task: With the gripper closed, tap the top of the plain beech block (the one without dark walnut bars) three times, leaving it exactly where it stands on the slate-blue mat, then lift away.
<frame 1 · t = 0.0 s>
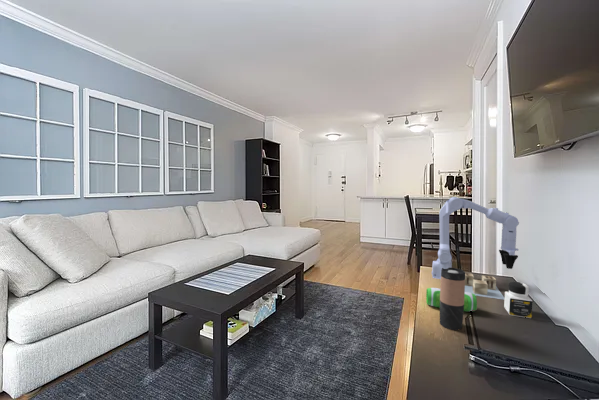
hand: (507, 266, 140), 10 cm above the table, tool pointing down, fingers open, 7 cm apart
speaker: (449, 308, 116), on the table
two bar block: (488, 287, 137), point 1 cm above the table, touching mat
medicine bottle: (517, 313, 112), on the table
travel mug: (450, 325, 101), on the table
one bar block: (466, 284, 142), point 1 cm above the table, touching mat
mat: (480, 290, 135), on the table
plain block: (479, 292, 131), point 1 cm above the table, touching mat
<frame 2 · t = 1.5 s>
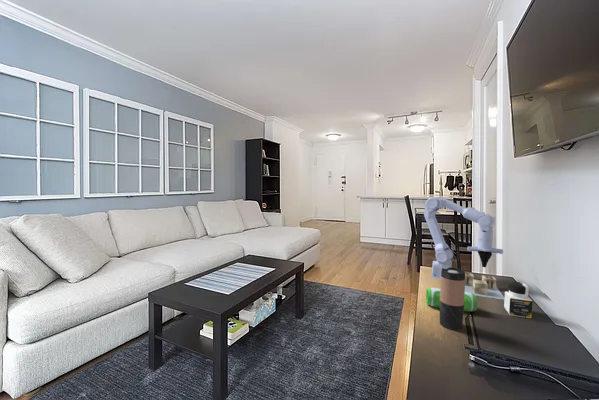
hand: (483, 266, 139), 10 cm above the table, tool pointing down, fingers closed
nothing on the table moved.
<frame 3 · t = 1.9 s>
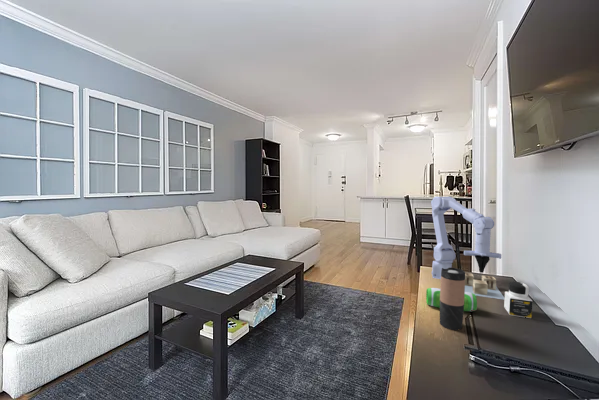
hand: (481, 271, 131), 10 cm above the table, tool pointing down, fingers closed
nothing on the table moved.
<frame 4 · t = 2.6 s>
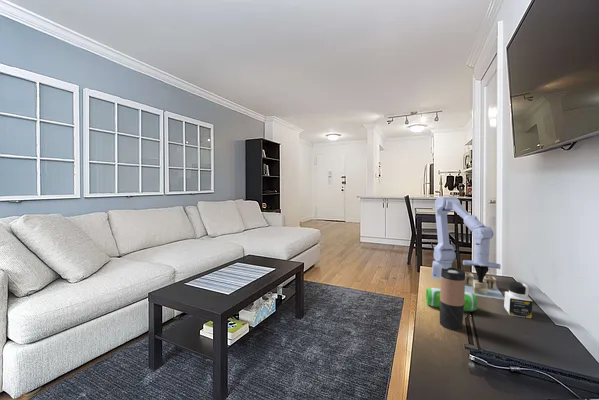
hand: (480, 281, 131), 6 cm above the table, tool pointing down, fingers closed, pressing on plain block
plain block: (479, 292, 131), point 1 cm above the table, touching gripper, mat
everything else where it was.
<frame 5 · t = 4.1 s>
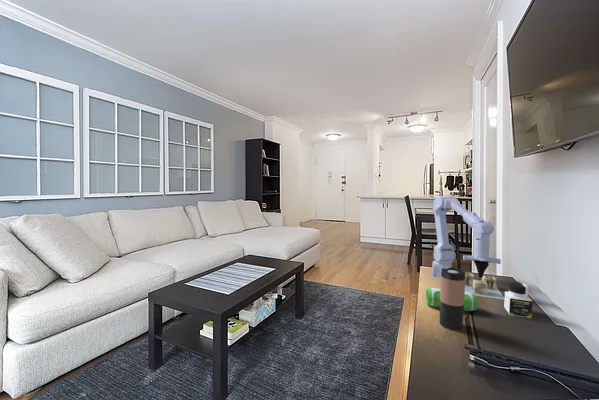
hand: (480, 277, 131), 8 cm above the table, tool pointing down, fingers closed
plain block: (479, 292, 131), point 1 cm above the table, touching mat
everything else where it was.
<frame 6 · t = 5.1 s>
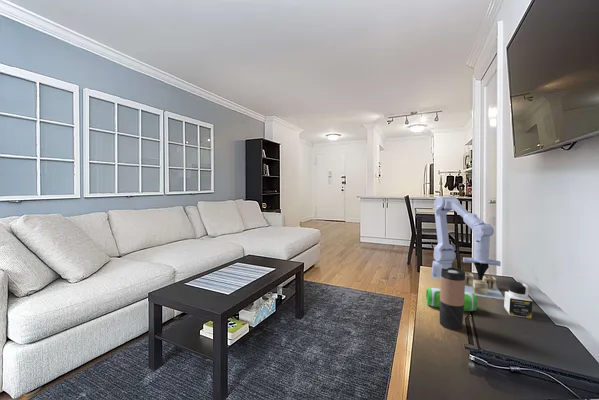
hand: (480, 279, 131), 7 cm above the table, tool pointing down, fingers closed
nothing on the table moved.
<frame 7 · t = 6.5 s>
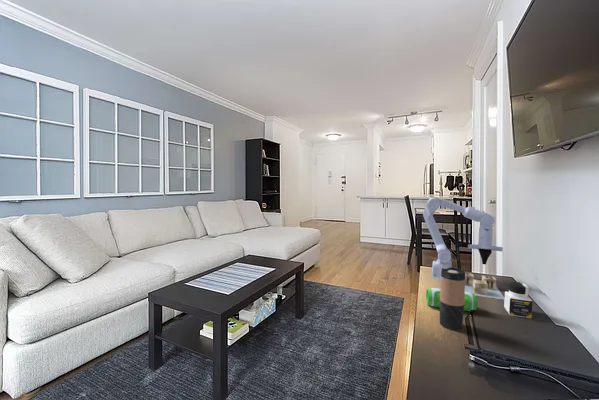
hand: (484, 263, 144), 10 cm above the table, tool pointing down, fingers closed
nothing on the table moved.
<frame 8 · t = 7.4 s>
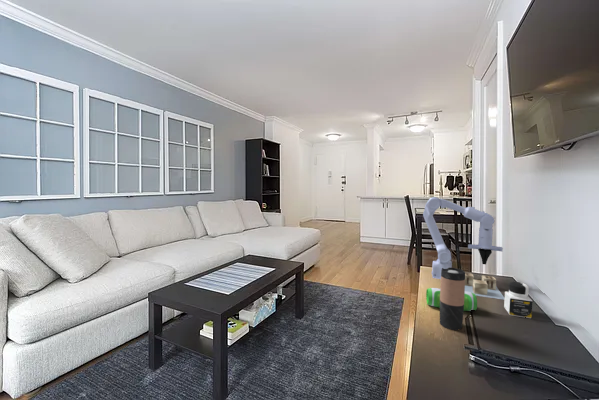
hand: (484, 263, 144), 10 cm above the table, tool pointing down, fingers closed
nothing on the table moved.
at the end: plain block moved 0.0 cm from its start; plain block tilted 0°; plain block touching mat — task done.
